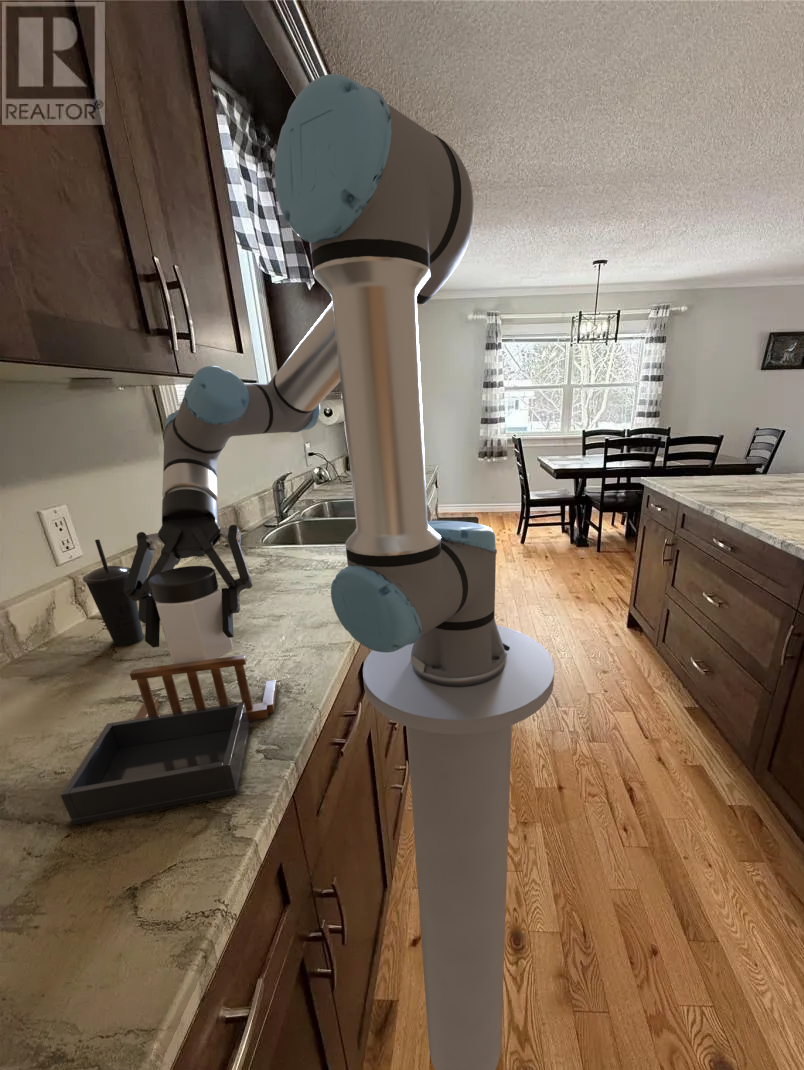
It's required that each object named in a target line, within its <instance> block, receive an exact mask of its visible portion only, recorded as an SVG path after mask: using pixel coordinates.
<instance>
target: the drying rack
mask: <svg viewBox="0 0 804 1070" xmlns="http://www.w3.org/2000/svg"><path fill="white" fill-rule="evenodd" d="M247 661H248V659H247V655H246V654H241V655H239V654H238V655H232V656H225V657H219V658H217V659H209V660H202V661H194V662H187V663H179V664H173V663H172V664H165V665H158V666H151V667H142V668H136V669H131V671H130V672H129V677H130V679H131V681H136V683H137V686H138V689H139V692H140V695H141V698H142V701H143V703H142V705H141V706H140V708H139V710H138V711H137V713H136V715H135V717H134V719H139V718H146V717H152V716H159V715H160V714H159V711H158V708H159V706H160V704H159V700H158V696H157V697H154V695H153V691H152V688H151V685H150V682H149V679H151V678H159V677H162V678H161V679H162V682H163V686H164V688H165V692H166V696H167V698H168V702H169V705H170V708H171V712H172V713H178V712H184V711H183V708H182V704H181V700H180V697H179V694H178V690H177V686H176V683H175V680H174V675H180V674H181V675H183V674H186V677H187V680H188V684H189V687H190V692H191V696H192V698H193V703H194V706H195V710H198V709H204V708H207V706H206V703H205V702H206V701H205V698H204V694H203V690H202V687H201V683H200V679H199V675H198V672H203V671H209V670H210V674H211V678H212V681H213V685H214V689H215V693H216V699H217V702H218V706H224V705H230V702H229V698H228V695H227V690H226V687H225V686H226V685H225V681H224V677H223V672H222V669H224V668H225V669H226V668H232V667H234V671H235V676H236V681H237V685H238V689H239V693H240V698H241V703H243V702H244V703H245V707H246V712H247V716H248V721H249V722H252V721H258V720H263V719H268V718H269V715H270V714H274V713H275V707H276V701H277V692H278V685H277V680H276V679H272V680H271V679H270V680H266V681H265V685H264V690H263V696H262V701H261V702H257V703H256V702H255V703H253V702H252V696H251V692H250V687H249V684H248V683H249V682H248V678H247V674H246V669H245V665H246V664H247ZM172 713H171V714H172Z"/></svg>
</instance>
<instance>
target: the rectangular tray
mask: <svg viewBox="0 0 804 1070" xmlns="http://www.w3.org/2000/svg"><path fill="white" fill-rule="evenodd" d="M250 730H251V726H250V721H248V716H247V712H246V707H245V703H244V702H243V703H242V702H237V703H231V704H230V703H229V705H224V706H219V705H216V706H211V707H206V708H204V709H198V710H196V709H192V710H185V711H183V712H178V713H166V714H159V716H152V717H146V718H139V719H135V718H134V719H126V720H121V721H120V720H119V721H114V722H107V723H106V724H105V726H104V727H103V729H102V731H100V733H99V735H98V737H97V738H96V740H95V741H94V743H93V744H92V746H91V747H90V749H89V751H87V754H86V755H85V756H84V758H83V760H82V761H81V762H80V764H79V766H78V767H77V769H76V770H75V772H74V774H73V775H72V776H71V778H70V780H69V781H68V783H66V786H65V787H64V788H63V790H62V791H61V793H60V798H61V800H62V803H63V804H64V807H65V808H66V811H67V813H68V816H69V818H70V820H71V823H72V825H73V826H77V825H82V824H86V823H87V824H88V823H92V822H97V821H103V820H107V819H114V818H119V817H124V816H128V815H133V814H139V813H143V812H149V811H155V810H158V809H164V808H165V809H166V808H170V807H174V806H180V805H184V804H189V803H195V802H196V803H197V802H200V801H206V800H210V799H211V800H212V799H216V798H220V797H227V796H232V795H237V794H238V790H239V784H240V780H241V775H242V770H243V765H244V760H245V755H246V750H247V746H248V745H247V744H248V741H249V735H250Z"/></svg>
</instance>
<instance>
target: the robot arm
mask: <svg viewBox="0 0 804 1070" xmlns="http://www.w3.org/2000/svg"><path fill="white" fill-rule="evenodd" d="M274 161H275V162H274V184H275V193H276V198H277V203H278V205H279V209H280V211H281V214H282V216H283V218H284V220H285V221H286V222H287V223H289V227H290V229H291V230H292V231H293V232H294V233H295V234H296V235H297V236H298V237H300V239H301V240H303V241H305V242H307V243H309V249H310V257H311V263H312V264H311V265H312V273H313V277H314V279H315V280H316V281H317V282H318V283H319V284H320V285H321V286H322V287H323V288H324V289H325V290H326V291H327V293H328V294H329V295H330V298H331V302H330V303H329V305H327V308H326V309H324V311H323V313H322V314H321V315H320V316H319V318H317V320H316V321H315V323H314V324H313V326H312V327H311V328H310V329H309V331H308V332H307V333H306V335H305V336H304V337H303V338H302V340H301V341H300V342H299V344H298V345H297V346H296V347H295V348H294V350H293V351H292V353H291V354H290V355H289V357H288V358H287V359H286V360H285V361H284V363H283V364H282V365H281V367H280V368H279V369H278V371H277V372H276V373H275V375H274V376H272V378H271V380H270V381H269V382H267V383H244V382H243V381H242V380H241V378H239V376H237V375H236V374H235V373H233V372H232V371H230V370H224V369H223V368H221V367H220V366H218V365H217V366H216V365H207V366H203V367H201V368H199V369H198V370H197V371H196V372H195V373H194V375H193V377H192V379H191V380H190V382H189V384H188V385H186V388H185V390H184V394H183V398H182V400H181V403H180V406H179V409H178V410H176V411H174V412H172V413H169V414H168V416H166V419H165V421H164V429H163V431H162V440H163V441H162V442H163V465H162V466H163V469H162V471H163V472H162V473H163V474H162V492H161V493H162V495H161V496H162V500H161V526H160V529H158V531H157V532H156V533H155V532H154V533H149V534H146V532H145V531H140V532H138V533H137V534H136V542H137V547H136V550H135V552H134V553H135V554H134V556H133V560H132V561H131V566H130V568H131V569H130V572H129V575H128V578H127V581H126V584H125V587H124V593H125V594H126V595H127V596H128V597H129V598H130V599H132V600H133V601H137V602H138V611H139V615H138V617H139V619H140V622H141V623H142V624H143V625H145V630H144V633H145V634H144V642H145V643H146V644H148V645H149V646H151V648H159V647H160V633H161V632H160V628H161V620H160V617H159V613H158V610H157V606H156V603H155V600H154V599H153V596H152V594H151V591H150V588H149V587H150V586H149V579H150V578H151V577H153V576H154V575H156V574H158V573H161V572H164V571H167V570H170V569H175V566H176V565H179V564H180V562H181V560H182V559H189V558H191V557H192V558H193V557H198V558H202V557H205V556H207V557H208V560H209V561H210V562H211V563H212V565H213V567H215V568H214V569H215V570H216V571H217V573H218V574H219V575H220V577H221V578H222V580H223V582H224V583H225V584H226V586H227V587H222V588H221V597H222V622H223V632H224V634H225V635H226V636H227V637H228V638H230V637H231V638H234V634H235V633H234V614H238V613H240V611H241V599H240V597H241V595H240V593H241V592H242V591H243V590H246V589H247V590H249V589H252V588H253V586H254V584H253V581H252V578H251V574H250V571H249V568H248V566H247V565H248V564H247V563H246V559H245V557H244V556H245V555H244V553H243V551H242V548H241V543H242V542H241V541H242V534H241V532H240V530H239V528H238V525H236V524H231V525H229V527H221V526H219V504H218V499H219V498H218V497H219V495H218V458H219V456H220V454H221V452H222V451H223V450H224V449H225V447H226V445H227V443H228V441H229V440H230V438H232V437H241V436H253V435H265V434H280V433H299V432H302V431H307V430H310V429H313V428H314V427H315V426H316V425H317V423H318V421H319V416H320V415H321V403H322V402H323V401H324V400H325V399H326V397H327V396H328V395H330V393H331V392H332V391H333V390H334V389H335V388H336V387H337V386H338V384H339V383H340V387H341V396H342V407H343V414H344V415H343V417H344V424H345V434H346V442H347V443H346V444H347V452H348V461H349V471H350V480H351V481H350V482H351V489H352V490H351V491H352V499H353V509H354V516H355V518H354V519H355V529H354V531H353V532H352V534H350V535H349V537H348V538H347V539H346V541H345V553H346V561H347V566H346V567H344V568H341V569H340V570H339V571H338V573H337V574H336V575H335V578H334V579H333V580H332V582H331V586H330V598H331V603H332V608H333V609H334V612H335V615H336V617H337V619H338V621H339V622H340V624H341V626H342V627H343V628H344V629H345V631H347V632H348V633H349V634H350V636H351V637H352V638H353V639H354V640H355V641H356V642H358V643H359V644H360V645H361V646H363V647H365V648H366V649H369V650H371V651H372V650H374V651H377V652H384V653H388V652H394V651H397V650H399V649H401V648H403V647H404V646H406V645H410V644H413V643H414V644H413V647H412V652H411V662H410V663H411V666H412V669H413V671H414V672H415V674H416V675H417V676H419V677H420V678H421V679H423V680H425V681H427V682H429V683H432V684H436V685H440V686H446V687H469V686H475V685H479V684H483V683H486V682H488V681H490V680H492V679H494V678H496V677H497V676H498V675H499V674H500V673H501V672H502V671H503V669H504V667H505V650H506V651H509V649H510V647H509V646H507V645H505V644H504V643H502V640H501V637H500V634H499V631H498V628H497V625H498V624H497V622H496V619H495V616H496V615H495V614H496V613H495V612H496V611H495V607H496V571H497V570H496V568H497V567H496V566H497V564H496V563H497V560H496V559H497V553H498V550H497V548H496V534H495V532H494V530H493V529H492V528H491V527H489V526H487V525H485V524H481V523H476V522H468V521H461V520H460V521H459V520H429V521H428V503H427V501H428V500H427V482H426V462H425V461H426V460H425V441H424V423H423V422H424V421H423V420H424V419H423V402H422V401H423V400H422V382H421V381H422V380H421V361H420V343H419V341H420V340H419V324H418V323H419V322H418V306H420V307H421V306H425V304H426V303H428V302H429V301H430V300H431V299H432V297H434V295H435V294H436V293H438V291H439V290H440V289H441V288H442V287H443V286H444V285H445V284H446V283H447V281H448V280H449V278H450V277H451V276H452V274H453V273H454V272H455V270H456V269H457V267H458V266H459V264H460V262H461V261H462V259H463V257H464V255H465V253H466V251H467V249H468V246H469V243H470V240H471V237H472V233H473V228H474V221H475V196H474V190H473V185H472V182H471V178H470V176H469V172H468V170H467V168H466V166H465V164H464V163H463V160H462V159H461V157H460V155H458V153H457V151H456V150H455V149H453V147H452V146H450V144H448V143H447V142H446V141H445V140H444V139H442V138H441V137H440V136H438V135H436V134H435V133H432V132H430V131H428V130H427V129H425V128H424V127H423V126H421V125H420V124H418V123H417V122H416V121H414V120H412V119H411V118H410V117H408V116H407V115H405V114H404V113H402V112H401V111H399V110H398V109H396V108H395V107H393V106H392V105H390V104H388V102H387V101H386V99H385V98H384V96H383V95H382V94H381V93H380V92H379V91H378V90H376V89H374V88H372V87H370V86H367V87H366V86H364V85H362V84H361V83H359V82H357V81H355V80H354V79H352V78H351V77H348V76H346V75H343V74H339V73H330V74H325V75H322V76H318V77H317V78H315V79H313V80H312V81H311V82H309V83H308V84H307V85H305V87H304V88H303V89H302V90H301V91H300V92H299V94H298V95H297V96H296V98H295V99H294V101H293V102H292V103H291V105H290V107H289V109H288V112H287V115H286V119H285V122H284V123H283V124H282V126H281V129H280V132H279V137H278V141H277V145H276V153H275V160H274ZM221 538H223V539H224V540H225V543H227V544H228V545H229V549H230V551H231V554H232V558H233V560H234V564H235V567H236V570H237V573H238V576H239V577H238V578H236V579H235V578H234V577H233V576H232V574H231V573H230V571H229V569H228V568H227V566H226V565H225V564H224V562H223V560H222V559H221V558H220V556H219V554H218V553H217V552H216V550H215V548H214V547H215V546H216V544H217V543H218V542H219V541H220V539H221ZM161 542H162V543H163V545H164V546H163V547H162V548H161V550H160V556H159V557H158V559H157V561H156V562H155V564H154V566H153V567H152V569H151V570H150V568H151V564H152V561H153V558H154V551H156V550H157V549H158V548H157V547H158V545H159V544H160V543H161Z"/></svg>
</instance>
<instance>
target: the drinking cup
mask: <svg viewBox="0 0 804 1070" xmlns="http://www.w3.org/2000/svg"><path fill="white" fill-rule="evenodd" d="M94 542H95V545H96V548H97V552H98V555H99V558H100V561H101V565H102V567H98V568H96V569H95V568H94V569H93V570H91V571H90V572H89V573H87V574H85V575H84V576H83V577H82V581H83V582H84V583H85V584H86V586H87V589H88V590H89V593H90V595H91V597H92V599H93V601H94V603H95V606H96V607H97V610H98V612H99V614H100V616H101V618H102V620H103V623H104V624H105V627H106V629H107V631H108V633H109V636H110V637H111V640H112V642H113V644H114V645H115V646H117V647H119V646H120V647H123V646H130V645H132V644H136V643H138V642H140V641H141V640H143V639H144V633H143V627H142V622H141V621H140V619H139V617H138V615H139V605H138V601H133V600H132V599H130V598H129V597H128V596H127V595H126V594H125V593H124V587H125V584H126V581H127V578H128V575H129V572H130V569H131V567H128V566H127V567H126V566H121V565H108V562H107V559H106V556H105V553H104V550H103V549H104V548H103V547H102V543H101V540H100V539H95V540H94Z"/></svg>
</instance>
